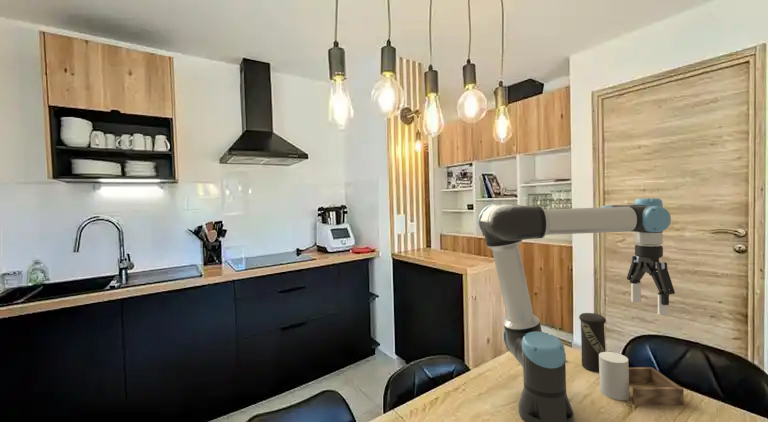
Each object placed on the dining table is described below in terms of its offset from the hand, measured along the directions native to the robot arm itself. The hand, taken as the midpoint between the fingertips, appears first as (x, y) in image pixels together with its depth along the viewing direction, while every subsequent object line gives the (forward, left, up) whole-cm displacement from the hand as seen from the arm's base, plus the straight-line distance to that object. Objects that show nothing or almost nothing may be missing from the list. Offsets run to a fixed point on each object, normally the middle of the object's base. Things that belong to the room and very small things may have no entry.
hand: (648, 308), depth 118 cm
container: (-11, +14, -27) cm, 33 cm away
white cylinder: (-14, -4, -27) cm, 30 cm away
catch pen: (-4, -4, -27) cm, 27 cm away
